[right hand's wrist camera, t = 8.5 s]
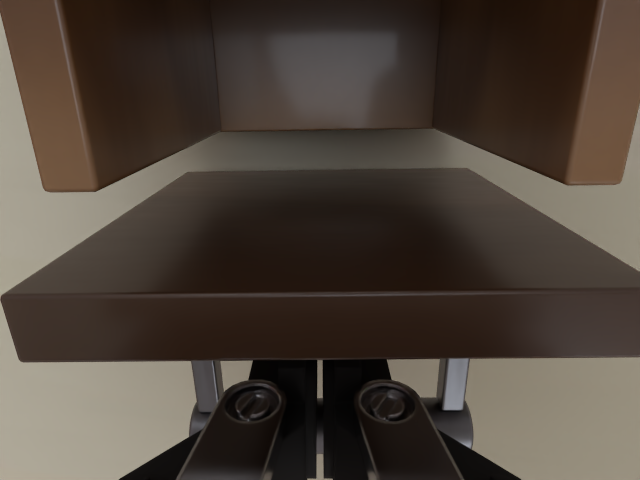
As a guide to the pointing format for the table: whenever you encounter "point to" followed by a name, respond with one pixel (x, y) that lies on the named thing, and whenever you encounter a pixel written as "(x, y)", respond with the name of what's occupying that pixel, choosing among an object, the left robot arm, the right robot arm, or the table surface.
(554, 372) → the table surface
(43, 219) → the table surface
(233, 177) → the drawer
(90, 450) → the table surface
